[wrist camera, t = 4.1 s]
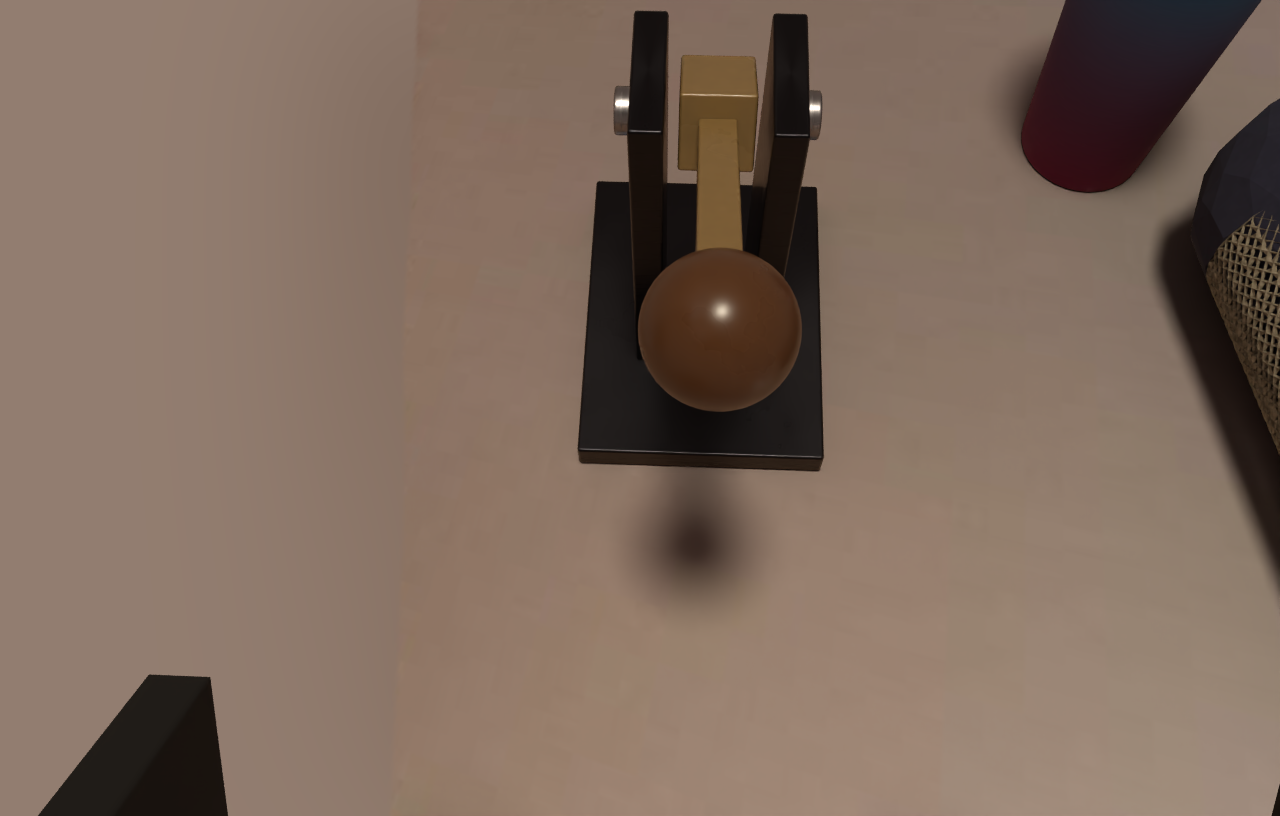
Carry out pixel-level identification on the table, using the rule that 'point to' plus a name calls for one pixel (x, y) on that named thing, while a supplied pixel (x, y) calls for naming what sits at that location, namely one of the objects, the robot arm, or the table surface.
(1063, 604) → the table surface
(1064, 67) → the cup
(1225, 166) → the portable speaker
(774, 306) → the switch lever
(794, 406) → the switch bracket
